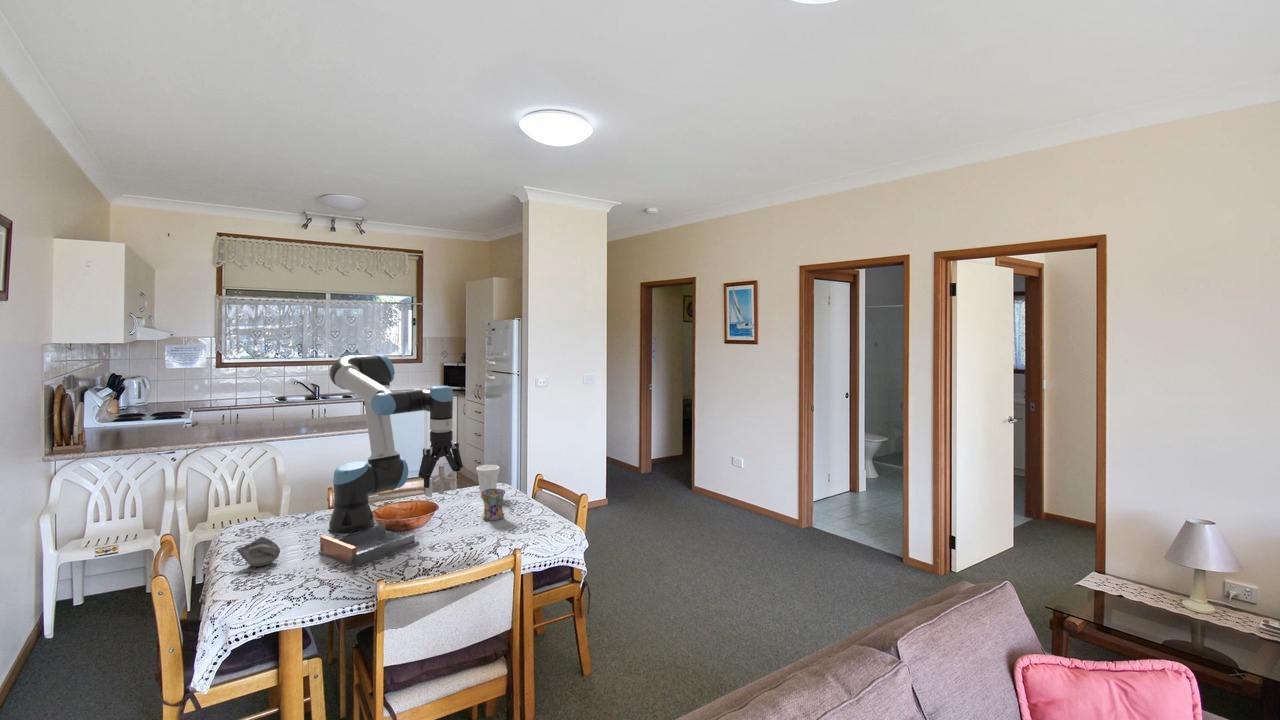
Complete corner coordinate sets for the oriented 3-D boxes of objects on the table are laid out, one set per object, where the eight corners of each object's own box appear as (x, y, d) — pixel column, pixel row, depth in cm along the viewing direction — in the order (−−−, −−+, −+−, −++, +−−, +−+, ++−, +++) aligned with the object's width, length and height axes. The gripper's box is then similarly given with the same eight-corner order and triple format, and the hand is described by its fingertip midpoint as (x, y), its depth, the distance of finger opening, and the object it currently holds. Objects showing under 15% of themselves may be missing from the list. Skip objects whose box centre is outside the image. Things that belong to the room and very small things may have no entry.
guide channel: (383, 531, 215) (383, 515, 215) (419, 543, 205) (418, 527, 204) (318, 553, 195) (318, 535, 195) (354, 568, 185) (353, 549, 184)
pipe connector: (447, 498, 201) (447, 470, 200) (420, 496, 203) (420, 468, 202) (461, 490, 211) (461, 463, 210) (435, 488, 213) (436, 461, 212)
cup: (472, 499, 256) (472, 469, 255) (482, 492, 266) (482, 464, 265) (494, 500, 254) (494, 471, 253) (503, 494, 264) (503, 465, 263)
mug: (509, 518, 232) (509, 492, 231) (487, 523, 226) (487, 496, 225) (495, 510, 241) (495, 485, 240) (474, 515, 235) (474, 489, 235)
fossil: (239, 573, 179) (238, 548, 179) (237, 563, 186) (236, 538, 186) (281, 564, 186) (281, 540, 185) (278, 555, 193) (277, 531, 193)
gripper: (421, 437, 194) (421, 502, 195) (473, 426, 213) (473, 486, 215) (406, 434, 198) (406, 498, 199) (459, 424, 217) (459, 483, 219)
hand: (441, 492), depth 207 cm, fingers closed on pipe connector, 10 cm apart
